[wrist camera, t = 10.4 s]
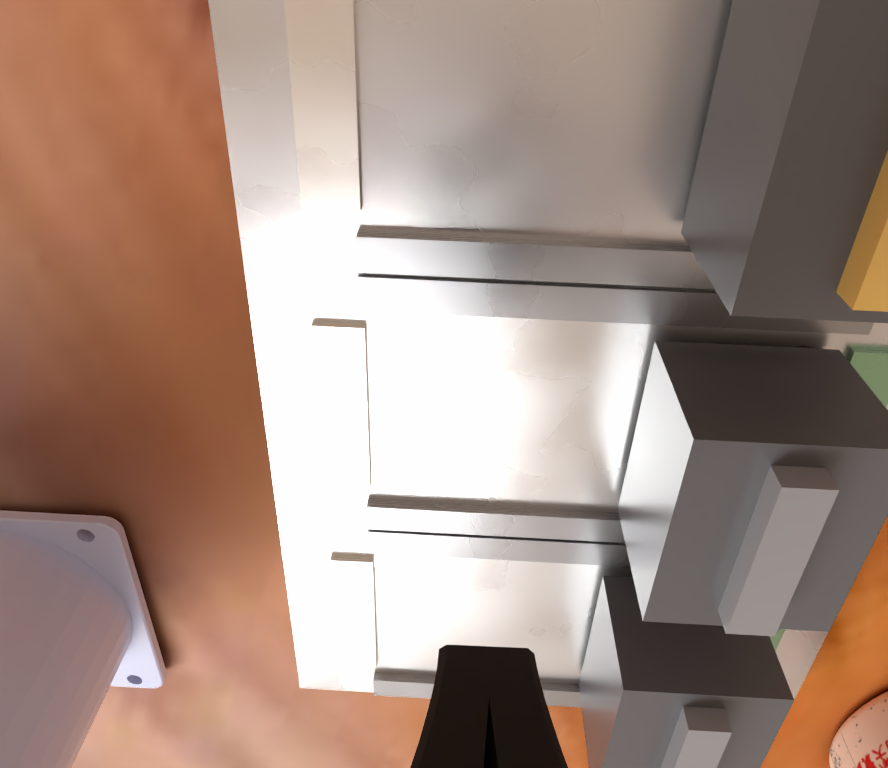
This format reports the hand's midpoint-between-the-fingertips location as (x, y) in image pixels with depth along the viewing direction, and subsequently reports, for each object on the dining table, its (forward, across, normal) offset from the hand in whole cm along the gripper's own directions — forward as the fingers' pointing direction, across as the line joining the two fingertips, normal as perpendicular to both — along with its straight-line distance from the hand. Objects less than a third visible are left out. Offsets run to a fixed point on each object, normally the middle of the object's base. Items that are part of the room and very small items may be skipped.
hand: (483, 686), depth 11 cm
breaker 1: (+7, -6, 0) cm, 9 cm away
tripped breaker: (+7, -6, -7) cm, 12 cm away
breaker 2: (+7, -6, +8) cm, 12 cm away
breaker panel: (+9, -3, 0) cm, 9 cm away
